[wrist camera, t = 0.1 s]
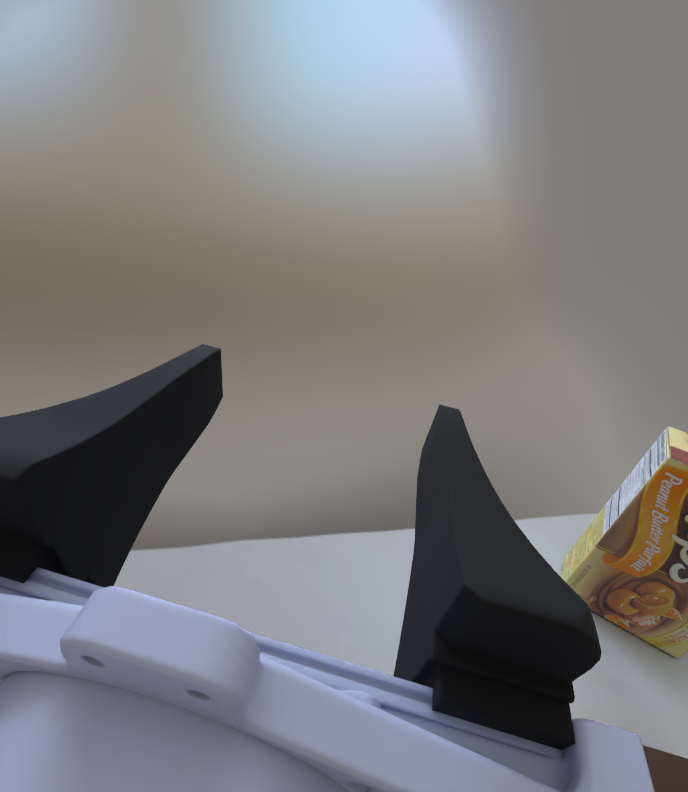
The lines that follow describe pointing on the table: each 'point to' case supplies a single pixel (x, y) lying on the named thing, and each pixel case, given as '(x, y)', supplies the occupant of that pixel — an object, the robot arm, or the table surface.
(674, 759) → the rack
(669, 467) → the candy box
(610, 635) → the table surface
